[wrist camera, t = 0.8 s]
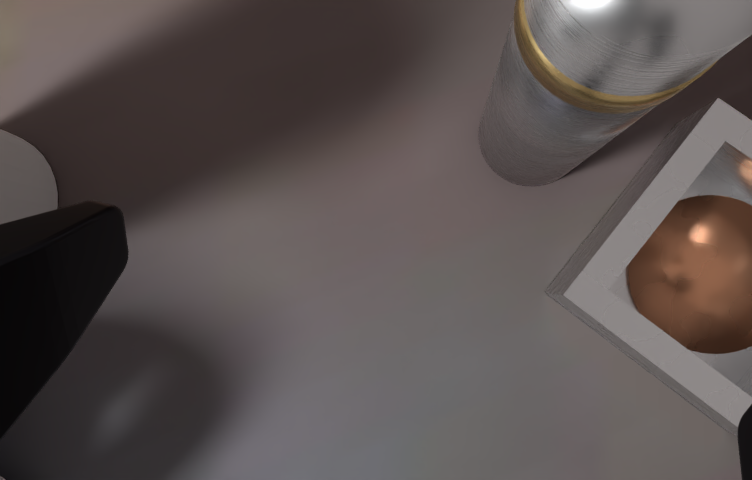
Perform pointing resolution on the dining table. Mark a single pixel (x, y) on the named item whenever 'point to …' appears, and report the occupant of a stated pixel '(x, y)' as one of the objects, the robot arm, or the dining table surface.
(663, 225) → the white square flat box
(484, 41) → the dining table surface
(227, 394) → the dining table surface
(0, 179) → the coffee cup
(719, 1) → the tube
